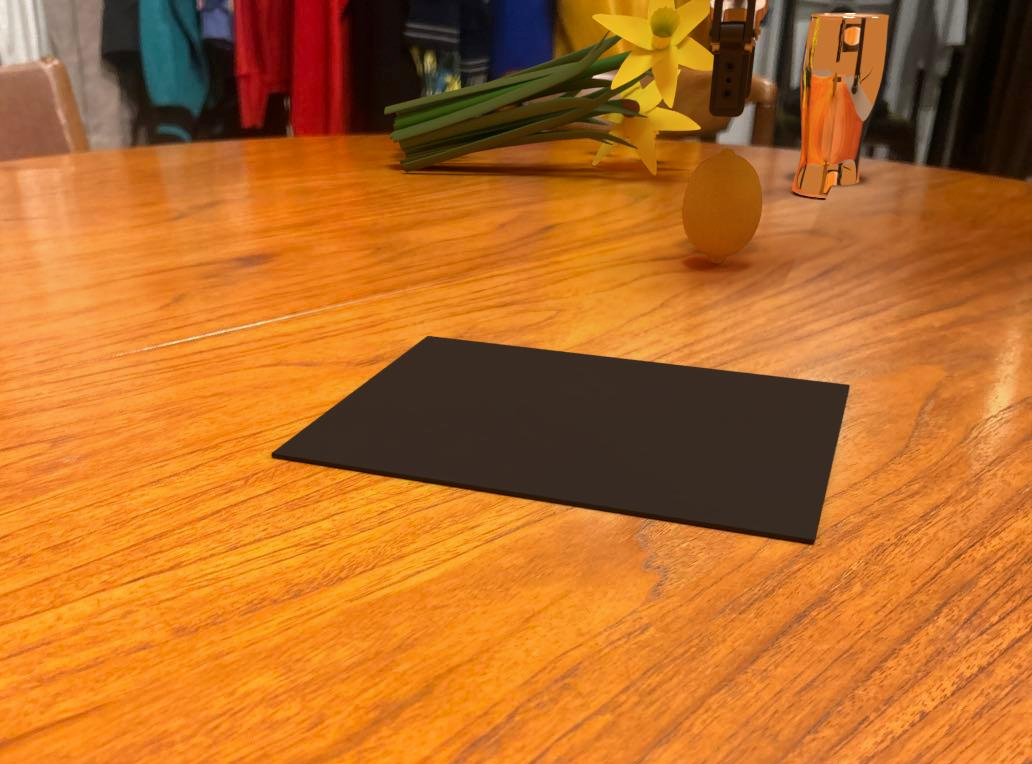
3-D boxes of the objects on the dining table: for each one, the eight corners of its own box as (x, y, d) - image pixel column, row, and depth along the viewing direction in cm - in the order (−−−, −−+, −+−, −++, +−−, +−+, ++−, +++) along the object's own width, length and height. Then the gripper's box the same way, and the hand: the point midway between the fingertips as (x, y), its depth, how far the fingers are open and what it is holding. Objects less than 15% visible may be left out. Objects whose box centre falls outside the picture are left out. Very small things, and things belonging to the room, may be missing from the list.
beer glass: (868, 201, 98) (897, 17, 91) (789, 199, 99) (812, 16, 92) (858, 186, 104) (885, 12, 97) (783, 184, 105) (804, 12, 98)
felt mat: (849, 388, 57) (849, 384, 57) (814, 544, 42) (814, 539, 42) (427, 338, 64) (427, 335, 64) (271, 457, 50) (271, 452, 49)
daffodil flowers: (428, 158, 124) (739, 73, 114) (422, 252, 116) (755, 170, 106) (367, 29, 110) (714, -79, 100) (356, 127, 103) (730, 20, 93)
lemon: (728, 251, 82) (740, 140, 79) (770, 269, 78) (784, 151, 74) (664, 258, 81) (672, 144, 77) (703, 276, 76) (714, 157, 72)
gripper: (705, -167, 73) (684, 93, 81) (685, -188, 61) (662, 120, 69) (821, -169, 71) (788, 96, 79) (823, -191, 59) (784, 124, 67)
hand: (730, 107), depth 74 cm, fingers open, 8 cm apart
